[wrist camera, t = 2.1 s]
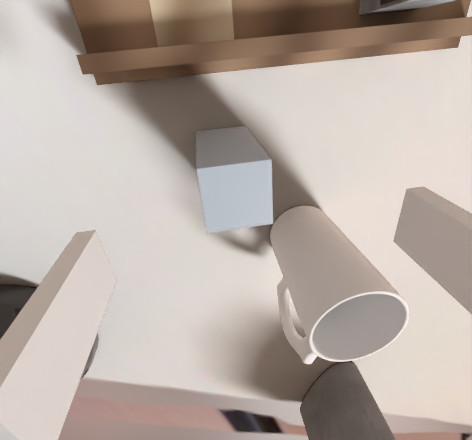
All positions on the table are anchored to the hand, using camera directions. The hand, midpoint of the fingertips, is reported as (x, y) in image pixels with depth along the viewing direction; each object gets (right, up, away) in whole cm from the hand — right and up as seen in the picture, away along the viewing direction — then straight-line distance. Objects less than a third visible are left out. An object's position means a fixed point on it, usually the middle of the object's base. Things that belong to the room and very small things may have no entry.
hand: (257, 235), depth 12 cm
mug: (+5, -2, +17) cm, 18 cm away
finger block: (-2, +6, +11) cm, 13 cm away
